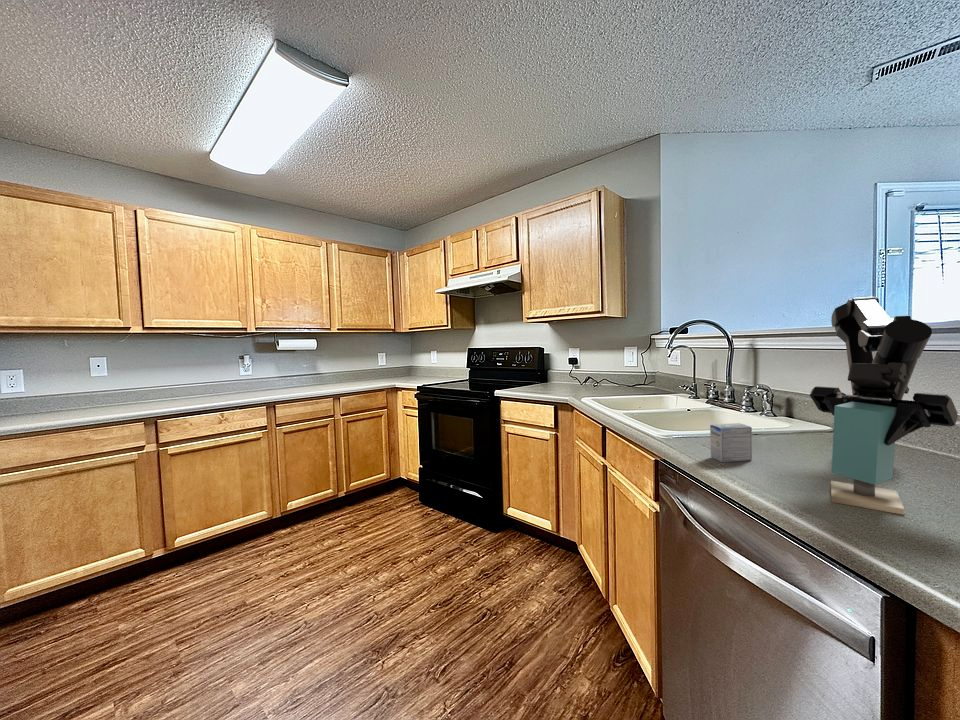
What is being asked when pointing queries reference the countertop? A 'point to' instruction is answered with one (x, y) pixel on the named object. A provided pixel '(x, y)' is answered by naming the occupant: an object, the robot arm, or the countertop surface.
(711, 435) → the medicine box
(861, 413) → the teal tall cube
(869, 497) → the peg stand
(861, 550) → the countertop surface
